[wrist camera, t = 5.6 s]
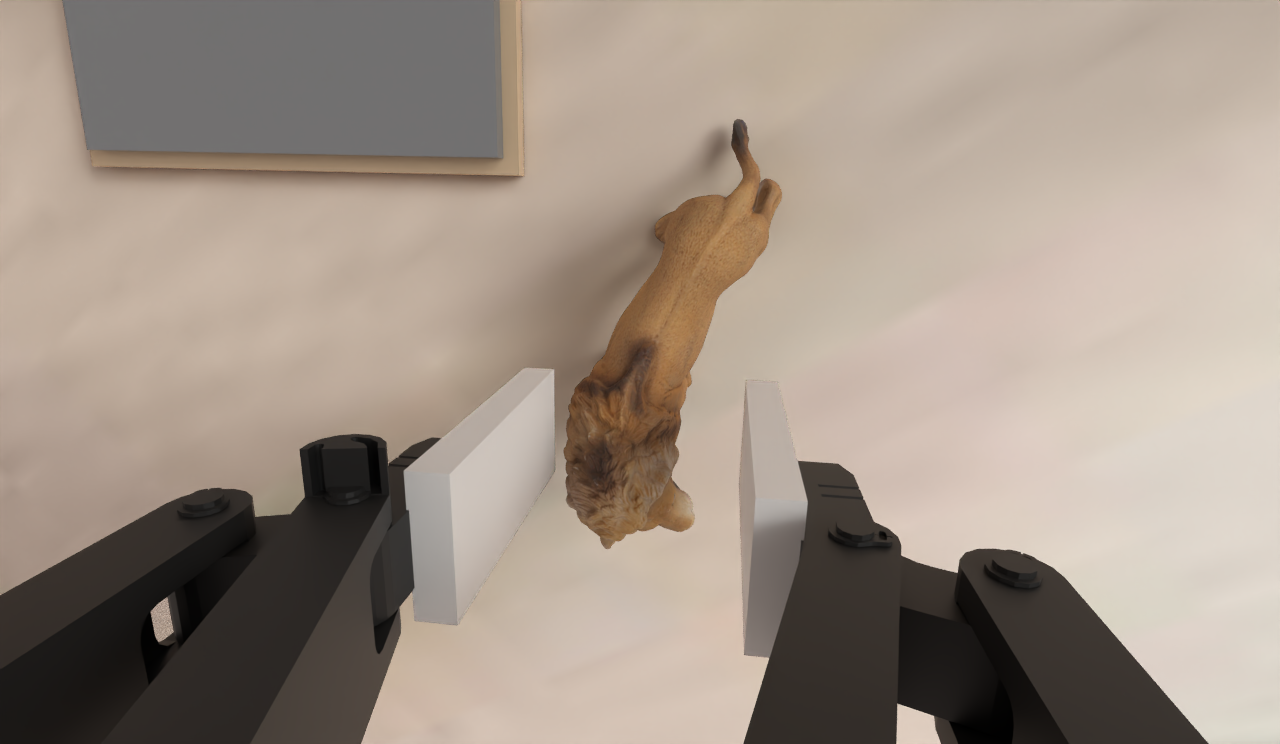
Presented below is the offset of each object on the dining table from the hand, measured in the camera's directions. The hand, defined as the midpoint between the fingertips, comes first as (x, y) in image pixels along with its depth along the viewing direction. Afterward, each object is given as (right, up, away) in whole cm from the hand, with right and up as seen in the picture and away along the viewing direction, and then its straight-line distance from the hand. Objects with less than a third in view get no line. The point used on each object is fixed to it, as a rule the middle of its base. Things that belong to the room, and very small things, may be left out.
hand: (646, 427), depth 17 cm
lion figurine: (+1, +4, +6) cm, 7 cm away
